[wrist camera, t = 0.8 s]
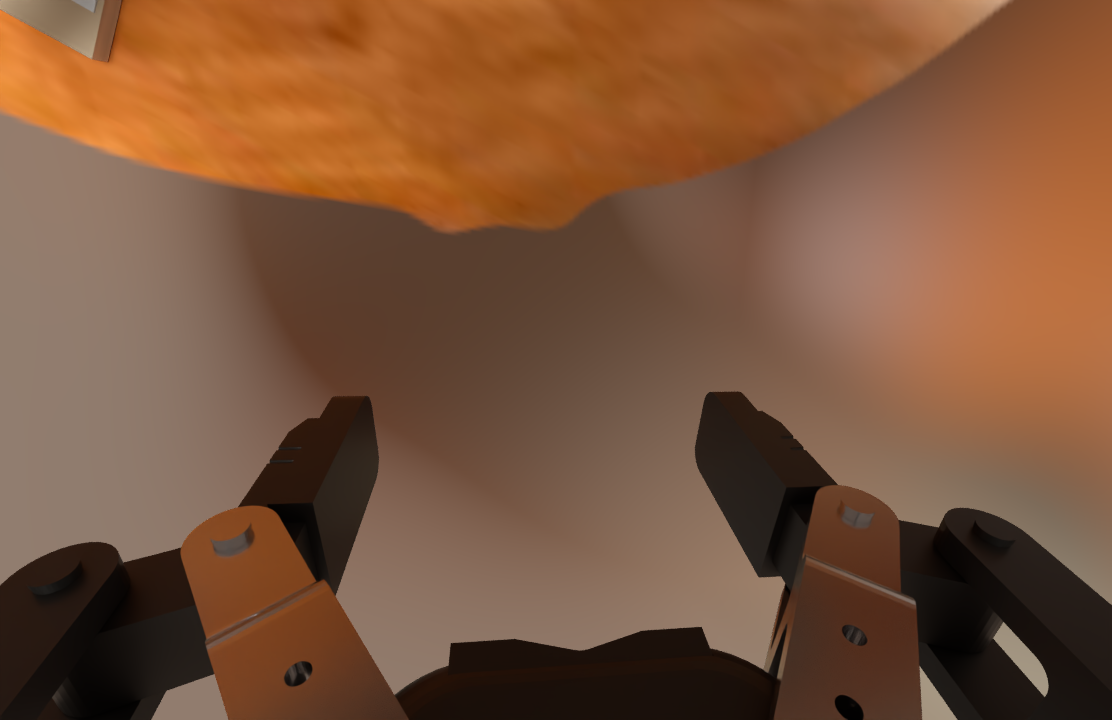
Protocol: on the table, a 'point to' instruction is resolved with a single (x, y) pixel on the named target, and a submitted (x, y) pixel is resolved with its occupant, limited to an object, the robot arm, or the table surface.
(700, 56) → the table surface
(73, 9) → the grey rectangular tray
